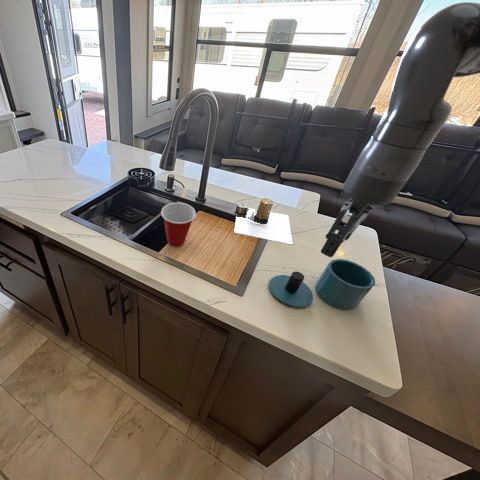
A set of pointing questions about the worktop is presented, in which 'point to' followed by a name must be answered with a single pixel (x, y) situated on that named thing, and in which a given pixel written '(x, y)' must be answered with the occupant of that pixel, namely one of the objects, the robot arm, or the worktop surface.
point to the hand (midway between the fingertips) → (334, 245)
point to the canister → (344, 284)
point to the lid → (291, 289)
